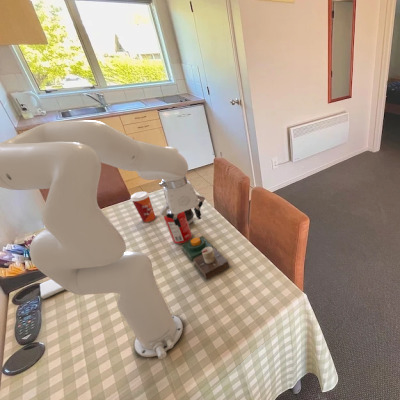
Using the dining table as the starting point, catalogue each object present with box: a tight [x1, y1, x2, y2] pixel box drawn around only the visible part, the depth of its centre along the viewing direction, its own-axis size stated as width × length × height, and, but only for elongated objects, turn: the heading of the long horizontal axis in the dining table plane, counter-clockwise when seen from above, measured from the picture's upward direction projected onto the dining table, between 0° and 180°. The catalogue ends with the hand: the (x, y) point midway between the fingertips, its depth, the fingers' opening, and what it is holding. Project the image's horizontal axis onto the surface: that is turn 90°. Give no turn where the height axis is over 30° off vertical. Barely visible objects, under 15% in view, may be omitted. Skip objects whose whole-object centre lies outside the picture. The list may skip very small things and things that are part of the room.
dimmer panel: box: [193, 247, 230, 280], centre depth 103 cm, size 11×9×3 cm
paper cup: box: [130, 190, 156, 223], centre depth 129 cm, size 8×8×14 cm
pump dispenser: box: [184, 208, 195, 226], centre depth 125 cm, size 10×10×15 cm
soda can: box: [163, 209, 193, 245], centre depth 115 cm, size 8×8×15 cm
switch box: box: [181, 235, 214, 262], centre depth 111 cm, size 10×9×4 cm
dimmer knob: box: [202, 247, 216, 264], centre depth 101 cm, size 4×4×5 cm
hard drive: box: [39, 279, 66, 300], centre depth 97 cm, size 2×8×12 cm
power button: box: [190, 237, 201, 246], centre depth 110 cm, size 4×4×2 cm
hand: (189, 221), depth 105 cm, fingers open, 7 cm apart
